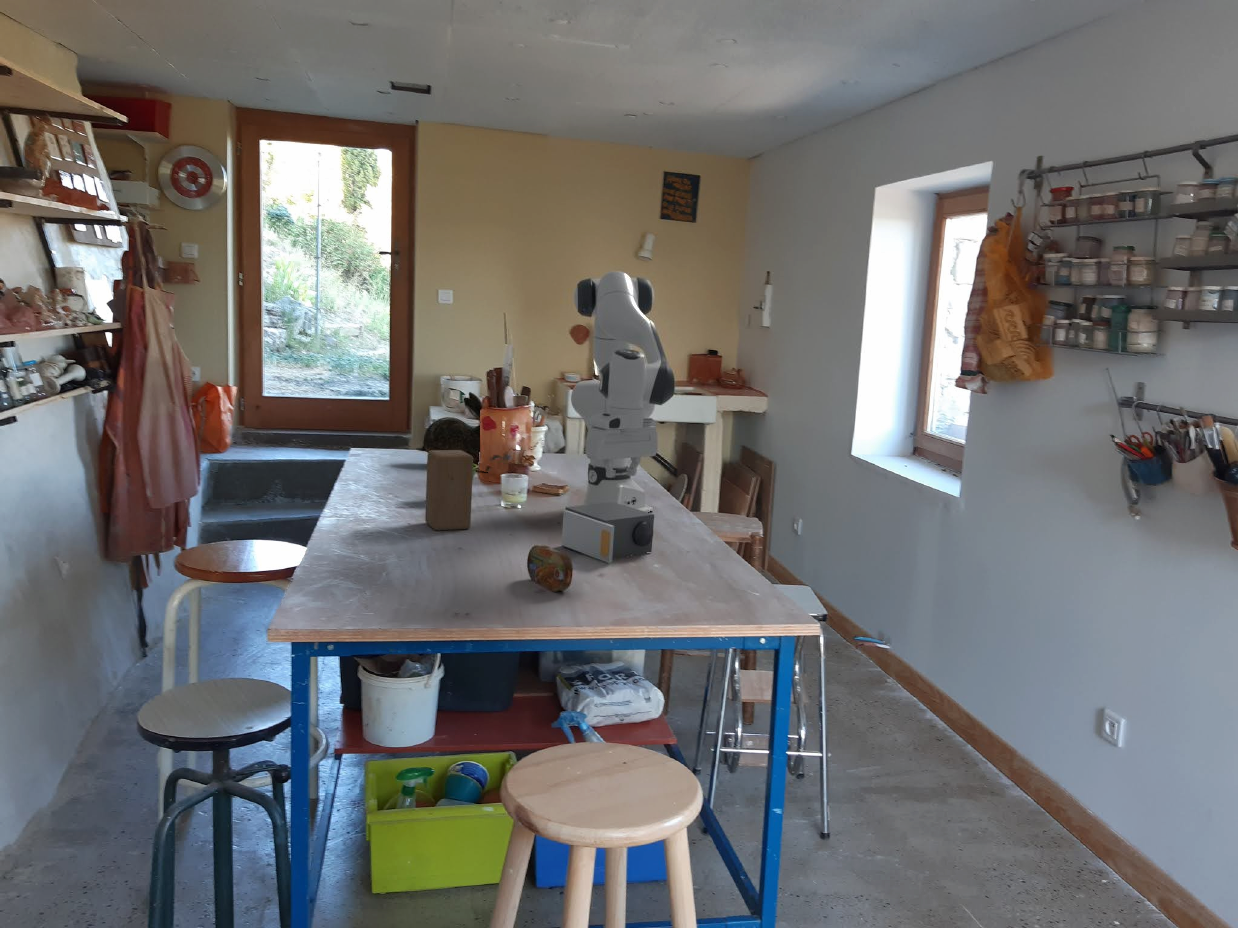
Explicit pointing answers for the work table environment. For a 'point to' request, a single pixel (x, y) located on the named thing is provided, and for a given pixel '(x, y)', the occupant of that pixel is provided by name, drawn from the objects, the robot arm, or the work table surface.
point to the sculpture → (455, 432)
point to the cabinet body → (622, 526)
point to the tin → (549, 568)
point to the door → (588, 536)
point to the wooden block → (449, 489)
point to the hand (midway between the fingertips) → (620, 476)
